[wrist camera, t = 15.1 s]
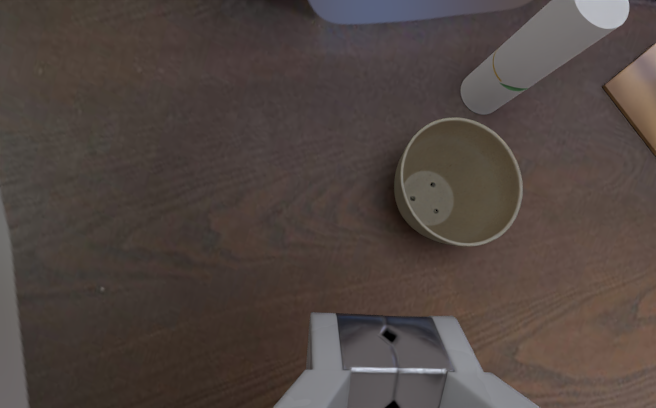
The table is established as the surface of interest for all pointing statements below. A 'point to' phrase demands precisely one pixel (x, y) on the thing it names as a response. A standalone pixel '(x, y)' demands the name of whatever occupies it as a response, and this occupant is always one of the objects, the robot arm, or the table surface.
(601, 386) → the table surface
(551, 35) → the tube
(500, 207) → the flower pot
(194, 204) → the table surface
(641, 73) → the shiny brown rectangular coaster
